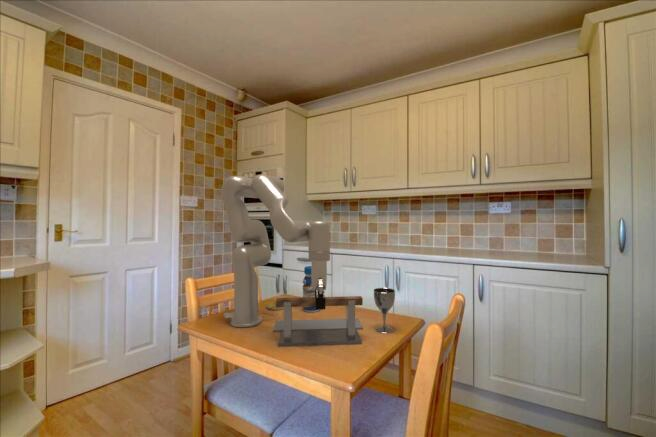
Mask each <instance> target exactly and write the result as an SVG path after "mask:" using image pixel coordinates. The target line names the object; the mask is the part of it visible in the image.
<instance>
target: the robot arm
mask: <svg viewBox="0 0 656 437" xmlns="http://www.w3.org/2000/svg"><path fill="white" fill-rule="evenodd" d="M284 192H285V184H284V182H283V180H282V179H281V178H280V177H278V176H273V175H268V174H263V173H261V174H257V175H256V176H253V177H247V176H243V175H241V176H240V175H232V176H228V177H226V179H225V180H224V181H223V182H222V185H221V189H220V196H221V201H222V203H223V206H224V208H225V212H226V216H227V223H228V227H229V233H230V236H231V239H232V240H233V241H234V242H236V243H250V244H242V245H240V246H237V247H236V248H234V249H233V251H232V252H231V263H232V269H233V280H234V281H233V283H234V284H233V293H234V295H233V298H234V299H233V300H234V301H233V302H234V303H233V305H234V306H233V310H234V311H231V312H223V318H225V320H228V319H230V321H229V322H230V325H231V326H232V327H235V328H251V327H255V326H258V325H260V324H261V323H262V322H263V317H262V316H261V315H259V275H258V274H257V272H256V269H255V268H256V267H257V268H258V267H261V266H264V265H268V263H270V261H271V258H272V249H271V245H270V239H269V236H268V234H269V233H268V231H267V227H266V226H265V223H263V221H261V220H260V219H259V220H258V219H251V218H250V215H249V212H248V207H247V205H246V203H245V202H244V200H242V198H252V199H259V200H260V201H261V202H262V203H263V205H264V206H265V207H266V208H267V210H268V211H269V220H270V224H271V226H272V228H273V229H274V230H275V231H276V233H277V234H278V235H279V236H280V237H281V238H282V239H283V240H284V241H286V242H288V243H298V242H307V241H308V261H309V262H311V265H310V266H311V279H312V290H313V291H314V290H316V291H315V297H316V309H317V310H319V311H320V310H326V306H325V297H326V295H325V291H326V290H327V282H328V281H327V279H328V277H327V276H328V267H327V266H328V265H327V264H328V263H327V262H329V261H331V235H330V234H331V230H330V228H331V227H330V223H329V222H328V221H325V220H313V221H310V220H293V219H292V218H291V217H290V216H289V215H288V214H287V212H286V211H285V209H286V207H287V206H288V204H289V198H288V196H287V195H286V194H285V193H284Z"/></svg>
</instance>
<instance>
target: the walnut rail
mask: <svg viewBox="0 0 656 437" xmlns="http://www.w3.org/2000/svg"><path fill="white" fill-rule="evenodd" d="M363 299H364V298H363V296H361V295H355V296H353V295H351V296H325V307H339V306H340V307H343V306H345V307H346V306H348V300H355V306H363ZM275 300H276V307H284V302H288V301H291V307H292V308H300V307H302V308H303V307H312V306H316V297H303V296H302V297H276V299H275Z"/></svg>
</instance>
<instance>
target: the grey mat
mask: <svg viewBox="0 0 656 437" xmlns="http://www.w3.org/2000/svg"><path fill="white" fill-rule="evenodd" d="M327 330H346V318H327V319H326V318H324V319H323V318H322V319H321V318H318V319H316V318H315V319H292V332H295V331H327ZM355 330H364V327H363V325H362V323H361V322H360V318H358V317H357V318H356V317H355ZM272 332H273V333H280V332H284V319H282V320H275V323H274V326H273V329H272Z"/></svg>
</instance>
